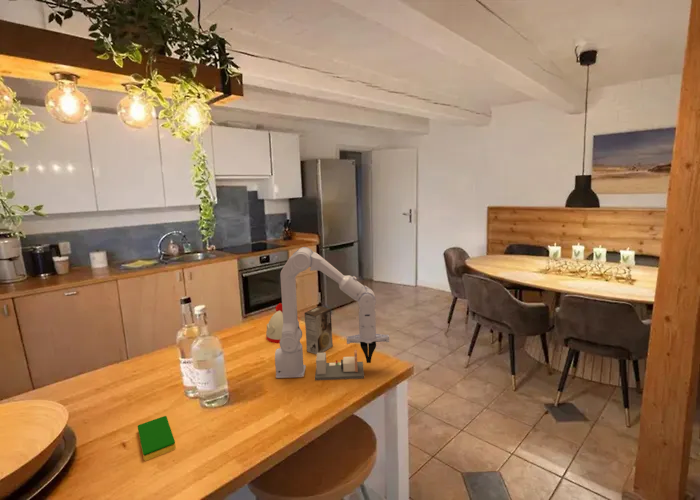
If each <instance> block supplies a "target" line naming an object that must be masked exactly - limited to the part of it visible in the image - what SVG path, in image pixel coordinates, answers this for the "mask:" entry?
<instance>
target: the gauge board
mask: <svg viewBox="0 0 700 500" xmlns="http://www.w3.org/2000/svg"><path fill="white" fill-rule="evenodd" d="M315 365H316V366H315V373H314V374H315V375H314V381H330V380H331V381H332V380H334V381H335V380H336V381H337V380H359V379H361V380H362V379H365V372H364V371H365V370H364V362H363V361H357V369H358V372H355V371H354V372H343V369H341V361H340V362H339V361H337V364H336V362H327V353H326V351H324V352H323V353H317V354H316V357H315Z"/></svg>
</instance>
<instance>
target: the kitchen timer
mask: <svg viewBox="0 0 700 500" xmlns="http://www.w3.org/2000/svg"><path fill="white" fill-rule="evenodd" d="M275 311H276V312H274V313H273V315H272V316H271V317H270V319H269V321H268V323H266V334H265V335H266V340H267V342H269V343H273V344H280V340H281V338H282V328H283V311H282V302H279V303H278V304H277V305H276V306H275Z"/></svg>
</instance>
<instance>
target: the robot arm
mask: <svg viewBox="0 0 700 500" xmlns="http://www.w3.org/2000/svg"><path fill="white" fill-rule="evenodd" d="M307 269H309V271H313V272H314V271H319V272H321V273H323V275H325V276H327V277H328V278H330V279H331V280H333V281H334V282H335V283H337V284H338V287H339V290H340V291H342V292H343V293H344V294H346V296H348V297H350V298H351V299H353V300H354V301H356V302H357V304H358V307H359V309H358V310H359V311H358V324H359V325H358V326H359V327H358V334H354V335H347V336H346V344H347V345H349V344H353V343H360V348H361V350H362V352H363V354H364V357H365V360H366V364H371V363H372V357H373V353H374V352H375V349H376V348H377V342H378V343H379V342H382V343H384V342H386V343H390V335H389V334H381V333H377V321H376V320H377V317H376V315H377V313H376V305H377V301H376V295H375V292H374V291H373V290H372V288H370V287H368V286H367V285H364V284H362V283H361V282H360V281H358V280H357V279H358V278H357V277H356V276H355V275H353V276H352V275H344V274H343V273H342V272H341V271H339V270H338V269H337V268H336V267H334V265H332V264H331V263H330V262H329V261H328V260H326V259H325V258H324V257H322V255H320V254H318V252H315V251H313V250H312V249H311V248H309V247H306V246H302V247H300V248H299V249H297V250H296V251H294V252H293V254H292V255H291V256H289V258H288V259H287V261H286V263H285V264H284V266H283V267H282V269H281V271H280V272H279V273H280V274H279V275H280V276H279V277H280V288H281V289H280V291H281V292H280V293H281V304H282V311H283V328H282V338H281V340H280V343H279V348H276V349H275V352H274V364H275V378H276V379H284V378H285V379H286V378H287V379H289V378H291V379H292V378H303V377H304V376H305V373H306V372H305V371H306V367H307V366H306V364H304V352H303V344H302V343H301V339H302V338H303V331H302V329H301V326H300V322H299V321H300V320H299V319H298V302H297V301H298V300H297V298H298V297H297V284H296V282H297V281H296V277H297V276H298V275H299V274H300V273H301V272H302V273H303V272H305V271H307Z"/></svg>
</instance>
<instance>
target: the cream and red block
mask: <svg viewBox="0 0 700 500" xmlns="http://www.w3.org/2000/svg"><path fill="white" fill-rule="evenodd" d="M353 351H354V356H343V357H342V358H343V359H340V362H341V369H343V372H354V371H355V372H358V369H357V362H358V351H357V349H354V350H353Z"/></svg>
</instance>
